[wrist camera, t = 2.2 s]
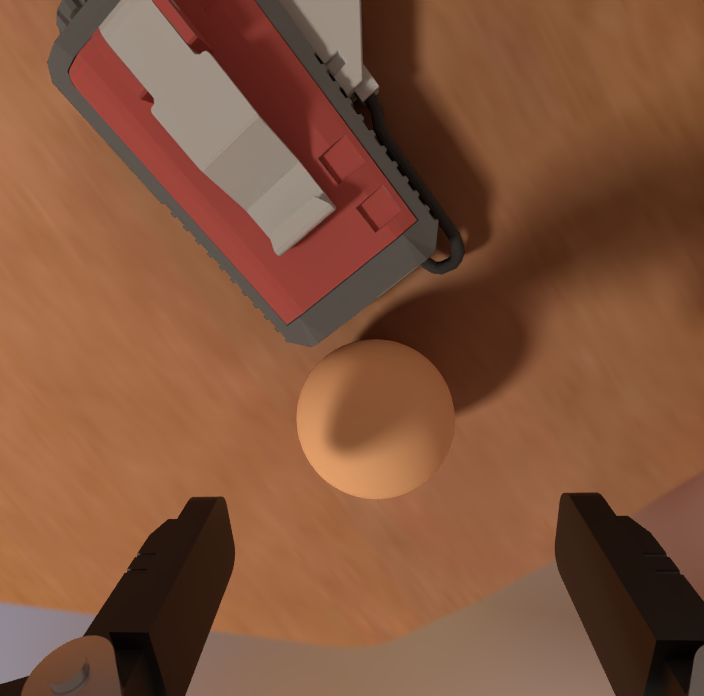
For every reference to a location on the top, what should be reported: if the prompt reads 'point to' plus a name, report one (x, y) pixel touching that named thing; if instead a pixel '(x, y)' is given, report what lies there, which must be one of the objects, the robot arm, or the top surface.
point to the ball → (375, 419)
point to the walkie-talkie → (258, 145)
